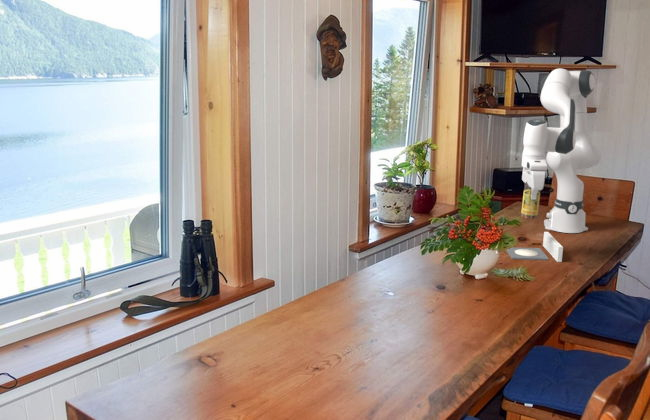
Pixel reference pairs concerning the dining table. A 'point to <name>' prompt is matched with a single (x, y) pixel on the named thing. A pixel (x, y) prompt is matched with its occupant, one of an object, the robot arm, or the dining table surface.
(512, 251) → the mat
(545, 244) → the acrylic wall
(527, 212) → the sauce bottle
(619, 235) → the dining table surface
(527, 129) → the robot arm
